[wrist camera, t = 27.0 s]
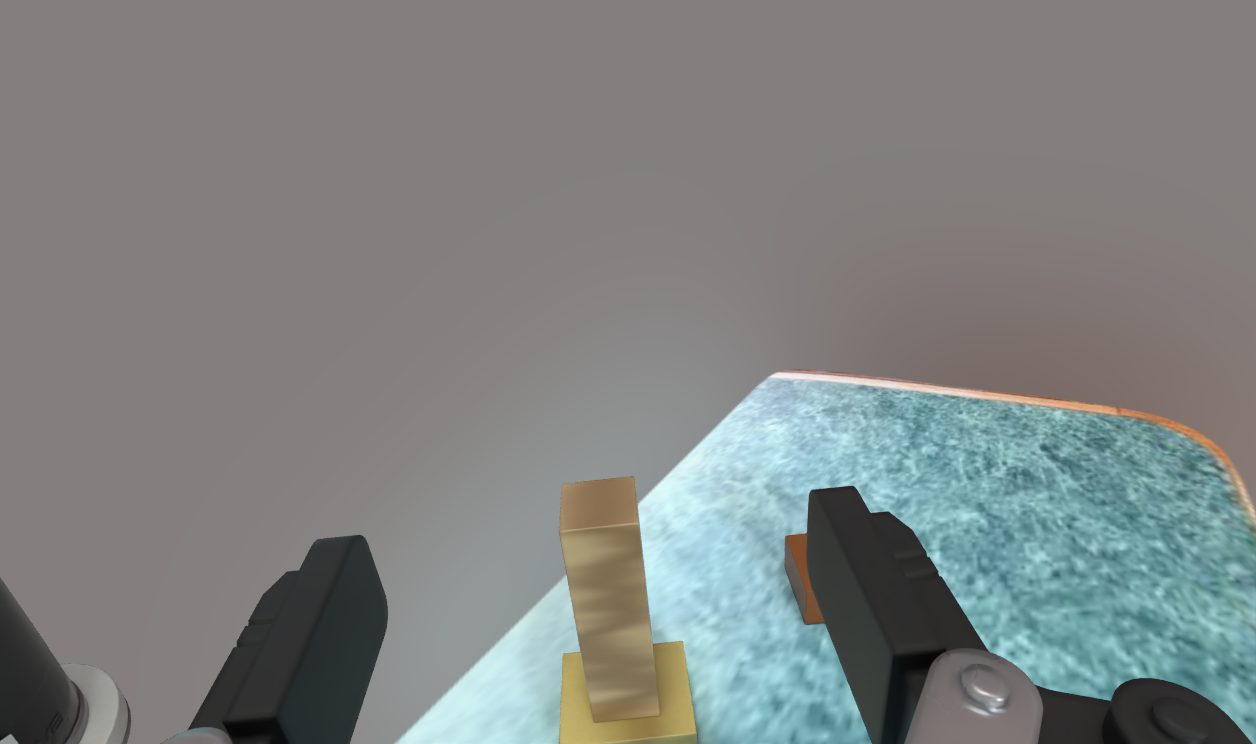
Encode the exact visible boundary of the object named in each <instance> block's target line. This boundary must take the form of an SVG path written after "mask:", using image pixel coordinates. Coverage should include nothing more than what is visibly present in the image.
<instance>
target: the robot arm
mask: <svg viewBox="0 0 1256 744" xmlns="http://www.w3.org/2000/svg"><path fill="white" fill-rule="evenodd" d="M806 562H807V570H808V576H809V580H810V584H811V588H812V591H813V593H814V596H815V598H816V601H817V604H818V606H819V609H820V611H821V614H822V616H823V619H824V622H825V624H826V627H827V629H828V632H829V634H830V637H831V640H832V642H833V645H834V647H835V650H836V652H837V655H838V658H839V660H840V663H841V665H842V668H843V670H844V673H845V676H846V678H847V681H848V683H849V686H850V688H851V691H852V693H853V696H854V699H855V701H856V704H857V706H858V709H859V711H860V714H861V717H862V719H863V722H864V724H865V727H866V729H867V732H868V735H869V737H870V740H871V742H872V744H1252V743H1251V741H1250V740H1249V739H1248V738H1247V737H1246V735H1245V734H1244V733H1243V732H1242V731H1241V729H1240V728H1239V727H1238V726H1237V725H1236V724H1235V722H1234V721H1233V720H1232V719H1231V718H1230V717H1229V716H1228V715H1227V714H1226V713H1225V712H1224V711H1222V710H1221V709H1220V708H1219V707H1218V706H1216V705H1215V704H1214V703H1212V702H1211V701H1209V700H1208V699H1206V698H1205V697H1203V696H1201V695H1200V694H1198V693H1196V692H1194V691H1192V690H1190V689H1188V688H1186V687H1183V686H1181V685H1178V684H1175V683H1172V682H1168V681H1164V680H1159V679H1152V678H1139V679H1133V680H1129V681H1126V682H1124V683H1123V684H1121V685H1120V686H1119V687H1118V688H1117V689H1116V690H1115V692H1114V694H1113V697H1112V699H1111V701H1108V700H1103V699H1097V698H1091V697H1086V696H1080V695H1074V694H1069V693H1063V692H1058V691H1053V690H1049V689H1046V688H1043V687H1040V686H1037V685H1034V683H1033V682H1032V681H1031V680H1030V678H1029V677H1028V676H1027V675H1026V674H1025V673H1024V672H1023V671H1022V670H1021V669H1019V668H1018V667H1017V666H1015V665H1014V664H1013V663H1011V662H1009V661H1008V660H1006V659H1004V658H1002V657H1000V656H998V655H996V654H993V653H990V652H989V651H988V649H987V648H986V647H985V645H984V644H983V642H982V640H981V639H980V637H979V636H978V634H977V632H976V631H975V629H974V628H973V626H972V624H971V623H970V621H969V620H968V618H967V616H966V615H965V613H964V612H963V610H962V609H961V607H960V605H959V604H958V602H957V601H956V599H955V597H954V596H953V594H952V593H951V591H950V589H949V588H948V586H947V585H946V583H945V581H944V580H943V578H942V577H941V576H940V577H939V574H938V570H937V569H936V567H935V565H934V564H933V562H932V561H931V559H930V557H927V554H926V551H925V549H924V548H923V546H922V545H921V543H920V542H919V540H918V538H917V537H916V535H915V534H914V532H913V530H912V529H910V528H909V527H908V526H906V525H905V524H904V523H903V522H901V521H900V520H899V519H897V518H896V517H895V516H893V515H892V514H891V513H890V512H878V513H870V512H869V510H868V508H867V506H866V504H865V503H864V501H863V499H862V497H861V496H860V494H859V492H858V490H857V489H856V488H855V487H854V486H845V487H835V488H825V489H816V490H811V492H810V494H809V503H808V524H807V546H806ZM387 620H388V606H387V600H386V595H385V592H384V589H383V587H382V584H381V581H380V578H379V575H378V572H377V569H376V566H375V564H374V560H373V558H372V555H371V552H370V549H369V546H368V543H367V541H366V539H365V538H364V537H363V536H362V535H355V536H344V537H335V538H324V539H318V540H316V541H315V542H314V543H313V545H312V546H311V549H310V550H309V552H308V554H307V556H306V558H305V560H304V562H303V564H302V566H301V568H300V570H299V571H290V572H286V573H285V574H284V575H283V576H282V577H281V578H280V579H279V580H278V581H277V582H276V583H275V584H274V585H273V586H272V587H271V588H270V589H269V590H268V591H266V592H265V593H264V594H263V596H262V597H261V599H260V601H259V603H258V604H257V606H256V608H255V610H254V612H253V614H252V615H251V617H250V619H249V625H248V626H245V628H244V630H243V631H242V633H241V635H240V637H239V639H238V640H237V647H235V648H233V650H232V652H231V653H230V655H229V657H228V659H227V661H226V662H225V664H224V666H223V668H222V670H221V671H220V673H219V675H218V677H217V678H216V680H215V682H214V684H213V686H212V687H211V689H210V691H209V693H208V695H207V696H206V698H205V700H204V702H203V704H202V705H201V707H200V709H199V711H198V713H197V714H196V716H195V718H194V720H193V722H192V723H191V725H190V727H189V729H188V730H187V731H184V732H182V733H180V734H177V735H175V736H173V737H171V738H169V739H167V740H166V741H164V742H162V743H161V744H350V741H351V738H352V735H353V732H354V728H355V725H356V722H357V719H358V716H359V713H360V710H361V707H362V704H363V700H364V697H365V694H366V691H367V688H368V685H369V682H370V679H371V676H372V673H373V670H374V667H375V663H376V660H377V657H378V654H379V651H380V648H381V645H382V642H383V639H384V636H385V632H386V628H387ZM88 716H89V707H88V702H87V700H86V697H85V696H84V695H83V693H82V692H81V690H80V689H79V687H78V686H77V685H76V684H75V683H74V682H73V681H71V680H70V679H69V678H68V676H67V675H66V673H65V672H64V670H63V669H62V667H61V666H60V664H59V663H58V662H57V660H56V659H55V657H54V656H53V654H52V653H51V651H50V650H49V648H48V646H47V645H46V643H45V642H44V640H43V639H42V637H41V636H40V634H39V633H38V632H37V630H36V629H35V627H34V626H33V624H32V623H31V621H30V620H29V619H28V617H27V616H26V614H25V613H24V611H23V610H22V608H21V607H20V605H19V604H18V603H17V601H16V600H15V598H14V597H13V595H12V594H11V592H10V591H9V589H8V588H7V586H6V585H5V584H4V582H3V581H2V579H1V578H0V744H79V742H80V740H81V739H82V736H83V734H84V732H85V729H86V726H87V722H88Z"/></svg>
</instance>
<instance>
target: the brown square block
mask: <svg viewBox="0 0 1256 744" xmlns="http://www.w3.org/2000/svg"><path fill="white" fill-rule="evenodd" d="M806 546H807V534H798V535H788V536H785V569H786V572H787V575H788V577H789V580H790V583H791V586H792V589H793V591H794V594H795V597H796V600H797V602H798V605H799V608H800V611H801V614H802V616H803V619H804V622H805V624H814V623H823V622H824V619H823V616H822V614H821V611H820V609H819V606H818V604H817V601H816V598H815V596H814V593H813V591H812V588H811V584H810V580H809V576H808V570H807V562H806Z"/></svg>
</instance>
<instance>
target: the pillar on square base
mask: <svg viewBox="0 0 1256 744" xmlns="http://www.w3.org/2000/svg"><path fill="white" fill-rule="evenodd" d="M559 534H560V540H561V545H562V551H563V556H564V562H565V568H566V573H567V579H568V584H569V590H570V596H571V601H572V607H573V612H574V618H575V623H576V629H577V634H578V640H579V646H580V651H581V652H575V653H566V654H563V662H562V687H561V713H560V738H559V744H698V742H697V731H696V724H695V717H694V711H693V704H692V698H691V691H690V685H689V678H688V671H687V665H686V658H685V652H684V645H683V641H677V642H668V643H659V644H653V642H652V633H651V623H650V614H649V605H648V596H647V587H646V578H645V569H644V559H643V550H642V541H641V532H640V523H639V514H638V505H637V496H636V487H635V478H634V477H633V476H631V477H622V478H612V479H603V480H594V481H584V482H575V483H566V484H562V490H561V507H560V526H559Z"/></svg>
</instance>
